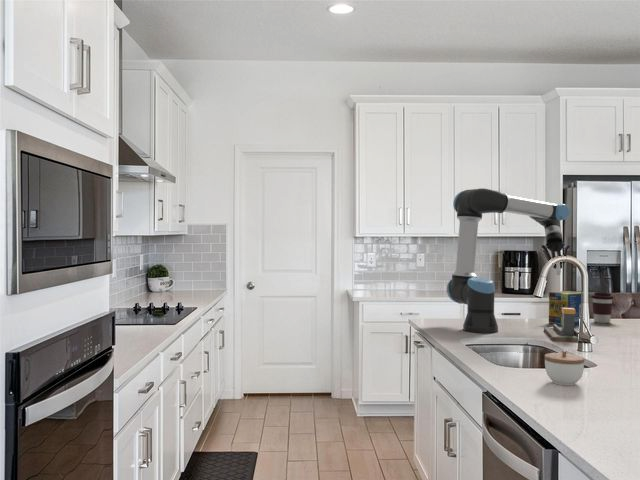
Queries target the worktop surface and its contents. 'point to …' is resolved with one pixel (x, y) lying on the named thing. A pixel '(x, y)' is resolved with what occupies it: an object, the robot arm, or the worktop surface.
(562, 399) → the worktop surface
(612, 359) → the worktop surface
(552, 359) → the lidded jar
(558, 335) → the switch panel
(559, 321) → the protein box
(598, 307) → the coffee cup
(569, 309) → the switch handle
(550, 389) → the worktop surface
